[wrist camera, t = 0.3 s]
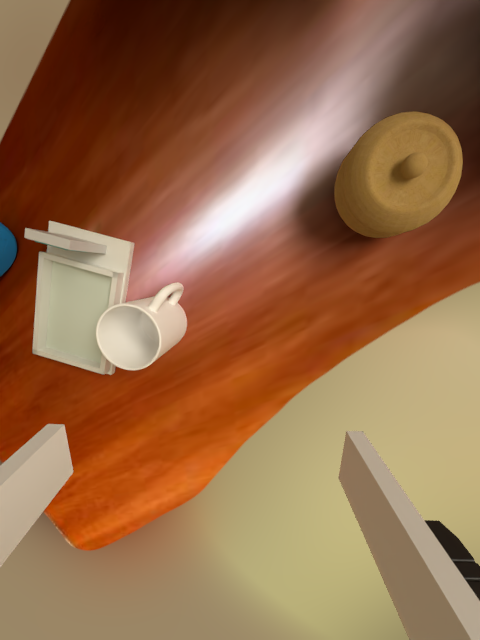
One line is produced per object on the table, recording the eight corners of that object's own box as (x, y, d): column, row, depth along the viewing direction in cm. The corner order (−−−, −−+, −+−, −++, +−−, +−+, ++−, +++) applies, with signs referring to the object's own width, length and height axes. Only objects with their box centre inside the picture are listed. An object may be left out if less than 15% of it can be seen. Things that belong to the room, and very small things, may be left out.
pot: (378, 123, 30) (430, 54, 21) (441, 191, 31) (520, 154, 21) (308, 199, 33) (326, 168, 23) (368, 259, 34) (409, 255, 24)
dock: (54, 221, 38) (-1, 208, 30) (134, 243, 37) (98, 235, 29) (44, 351, 42) (-6, 369, 35) (114, 372, 42) (79, 395, 34)
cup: (129, 325, 40) (83, 343, 30) (168, 265, 37) (132, 262, 27) (170, 355, 40) (138, 383, 30) (212, 298, 37) (191, 308, 27)
